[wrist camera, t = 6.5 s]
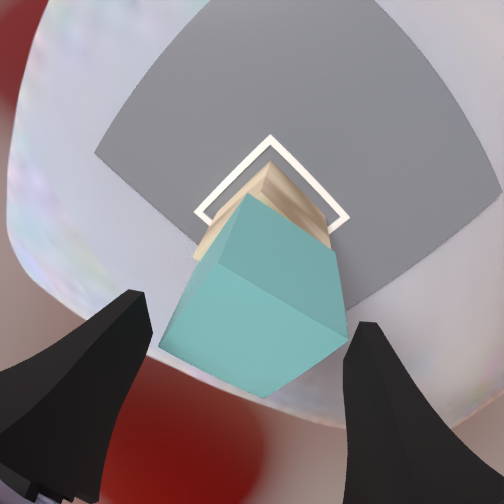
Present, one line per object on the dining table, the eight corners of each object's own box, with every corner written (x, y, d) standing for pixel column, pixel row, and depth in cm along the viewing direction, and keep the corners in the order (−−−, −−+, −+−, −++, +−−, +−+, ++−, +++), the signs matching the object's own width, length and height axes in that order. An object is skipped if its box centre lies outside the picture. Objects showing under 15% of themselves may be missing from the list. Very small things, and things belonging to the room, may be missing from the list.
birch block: (325, 215, 17) (333, 263, 13) (270, 259, 19) (262, 313, 15) (270, 160, 16) (260, 191, 12) (217, 211, 18) (192, 256, 14)
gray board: (498, 188, 15) (503, 192, 14) (306, 328, 23) (306, 335, 22) (290, -60, 9) (290, -65, 8) (98, 150, 17) (93, 153, 17)
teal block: (335, 252, 13) (348, 339, 8) (274, 313, 15) (263, 398, 11) (247, 192, 12) (217, 262, 8) (196, 266, 14) (157, 346, 10)
